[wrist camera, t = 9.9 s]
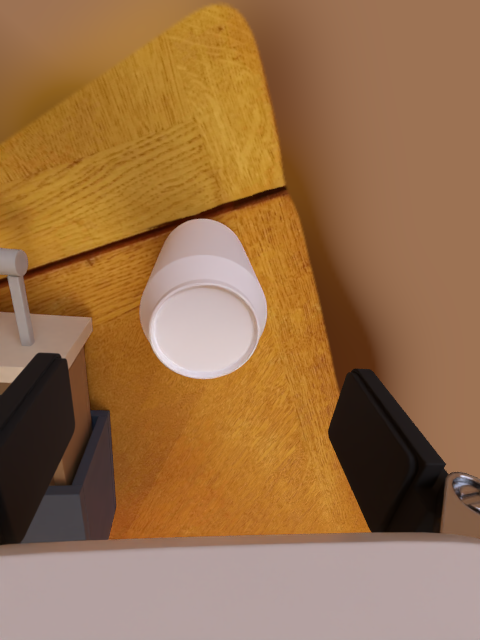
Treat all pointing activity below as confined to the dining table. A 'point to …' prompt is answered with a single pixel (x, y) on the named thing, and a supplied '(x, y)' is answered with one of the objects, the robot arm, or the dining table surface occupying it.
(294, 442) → the dining table surface
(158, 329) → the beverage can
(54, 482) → the drawer
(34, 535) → the cabinet
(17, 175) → the dining table surface
